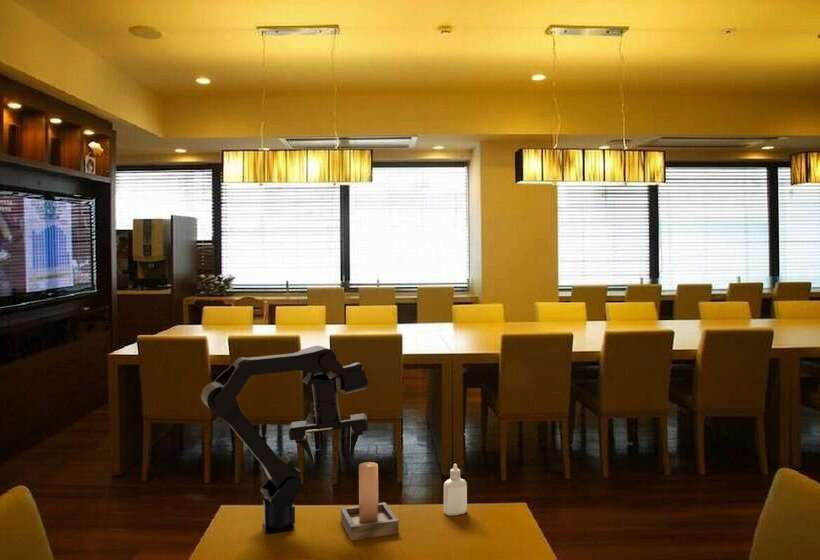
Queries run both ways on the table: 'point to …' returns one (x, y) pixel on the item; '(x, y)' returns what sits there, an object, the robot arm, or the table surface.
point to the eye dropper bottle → (455, 494)
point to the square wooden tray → (368, 530)
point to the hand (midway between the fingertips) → (332, 460)
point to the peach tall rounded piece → (368, 492)
